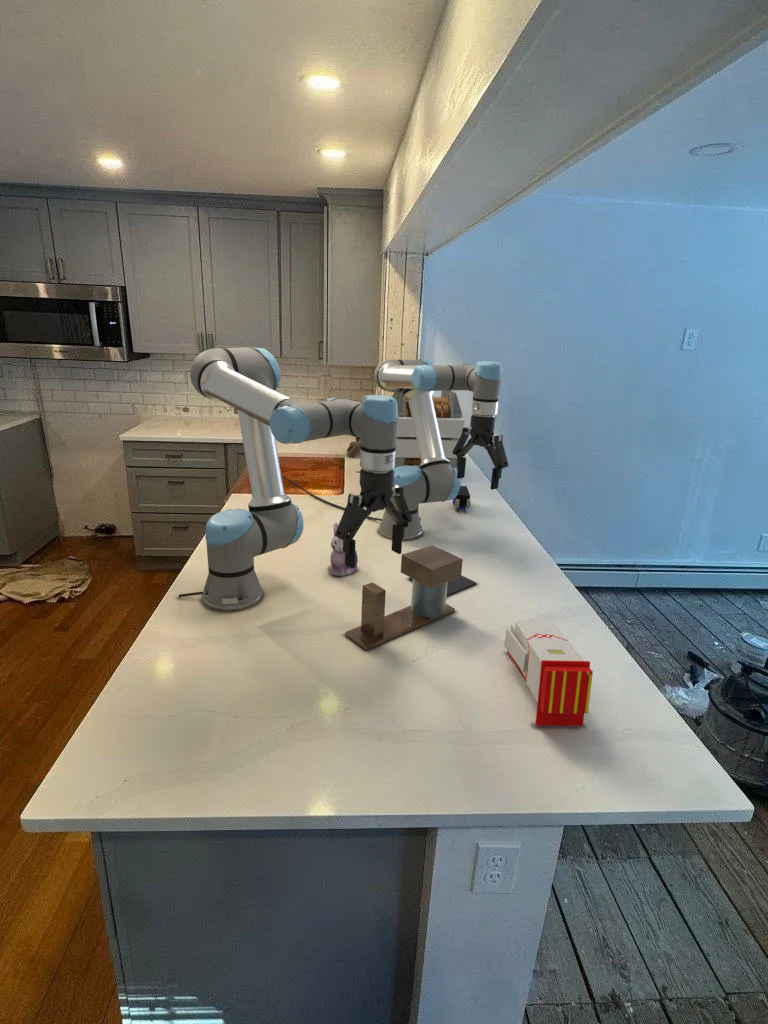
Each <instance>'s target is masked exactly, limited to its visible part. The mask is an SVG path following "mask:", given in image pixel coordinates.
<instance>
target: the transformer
mask: <svg viewBox="0 0 768 1024" xmlns="http://www.w3.org/2000/svg"><path fill="white" fill-rule="evenodd" d="M440 393H441V394H440V396H432V401H433V405H434V410H435V415H436V419H437V424H438V429H439V433H440V438H441V443H442V447H443V452H444V456H445V458H446V459H448V460H449V461H450V464H451V468H452V467H454V468H456V469H457V470H458V467H457V456H456V455H455V454H453V453H452V452H453V450H454V448H455V446H456V444H457V442H458V440H459V438H460V436H461V434H462V429H463V428H465V419H464V418H463V411H462V408H461V405H460V402H459V398H458V395H457V392H456V391H455V390H451V391H446V390H443V391H441V392H440ZM391 397H393V398H395V399H396V401H397V410H398V421H397V432H396V453H395V467H399V466H417V467H419V466H420V464H421V459H420V454H419V449H418V444H417V440H416V435H415V430H414V425H413V420H412V415H411V411H410V406H409V402H408V401H406V400H404V397H403V393H402V392H393V394H392V395H391ZM395 467H394V468H395Z"/></svg>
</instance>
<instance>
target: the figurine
mask: <svg viewBox="0 0 768 1024" xmlns="http://www.w3.org/2000/svg"><path fill="white" fill-rule="evenodd" d="M338 525H339V523H338V522H334V523H333V537H332V538H331V541H330V547H331V549H332V551H331V553H330V557H329V559H330V568H329V570H330V574H331V575H333V576H337V577H340V576H341V577H344V576H346V575H351V574H353V573H354V572H356V571H357V567H358V562H359V561H358V553H357V551H356V549H355V568H350V567H349V566H347V565H345V553H344V552H343V540H341V539H339V538H338V537H336V536H335V532H336V530H337V528H338Z"/></svg>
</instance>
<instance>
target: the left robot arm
mask: <svg viewBox="0 0 768 1024" xmlns="http://www.w3.org/2000/svg"><path fill="white" fill-rule="evenodd" d="M189 376H190V377H189V378H190V381H191V384H192V386H193V388H194V389H195V390H196V391H197V392H198V393H199V394H200V395H201V396H203V398H206V399H208V400H210V401H212V402H223V403H224V404H226V405H229V406H230V407H232V408H234V409H236V410H237V414H238V421H239V427H240V433H241V438H242V444H243V450H244V457H245V462H246V468H247V474H248V479H249V485H250V491H251V499H250V501H249V502H248V504H247V507H248V510H247V509H244V508H234V509H232V508H231V509H230V508H229V509H225V510H222V511H219V512H217V513H215V514H213V515H211V516H210V517H209V519H208V520H207V521H206V525H205V535H204V536H205V543H206V556H207V569H208V574H207V577H206V580H205V584H204V587H203V590H202V591H195V592H188V593H181V594H178V598H185V597H191V596H199V595H202V600H203V603H204V605H205V606H206V607H208V608H210V609H213V610H215V611H216V610H217V611H220V612H221V611H222V612H234V611H240V610H241V611H242V610H244V609H248V608H251V607H253V606H255V605H256V604H258V603H259V602H260V601H261V599H262V598H263V589H262V585H261V583H260V580H259V578H258V575H257V572H256V570H255V557H258V556H261V555H265V554H267V553H270V552H274V551H278V550H280V549H285V548H287V547H289V546H292V545H294V544H296V543H297V542H298V541H299V540H300V538H301V537H302V535H303V531H304V518H303V517H304V516H303V513H302V511H301V510H300V507H299V506H298V505H297V504H295V503H294V502H292V498H291V496H289V495H288V494H286V493H285V489H284V484H283V478H282V476H283V475H282V471H281V464H280V458H279V452H278V446H277V442H278V443H280V444H283V445H289V444H293V445H296V444H301V443H304V442H310V441H315V440H320V439H321V440H322V439H327V438H334V437H339V436H351V437H353V438H356V437H358V438H361V451H360V453H359V455H360V457H359V458H360V459H359V467H360V468H361V469H360V470H359V486H360V493H359V494H353V493H349V494H348V495H347V503H346V505H345V507H344V508H345V510H343V513H342V515H341V518H340V520H339V523H338V528H337V530H336V532H335V536H336V537H338V538H339V539H341V540H343V552H344V553H345V565H347V566H349V567H350V568H355V550H356V544H357V543H356V539H354V538H355V536H356V535H357V533H358V531H359V530H360V529H361V527H362V525H363V524H364V522H365V520H366V519H367V518H366V517H367V516H369V517H370V516H371V514H372V513H376V512H377V511H385V510H386V511H387V512H388V513H389V515H390V516H391V517H392V519H393V520H394V521H395V522H396V523H397V525H396V524H394V525H393V531H392V539H391V551H392V552H394V553H396V554H398V555H402V551H403V540H402V539H403V538H404V529H405V528H407V527H408V522H409V523H410V522H411V521H412V517H411V514H410V512H409V509H408V506H407V504H406V501H405V498H404V493H403V487H401V486H398V485H395V484H394V475H395V472H394V470H393V469H394V467H395V453H396V432H397V421H398V410H397V401H396V399H395V398H393V397H392V396H390V395H382V394H368V395H364V396H363V397H362V400H361V401H356V400H351V399H347V398H345V397H329V398H327V399H326V400H325V401H323V402H313V403H312V402H311V403H303V402H300V401H297V400H296V399H293V398H291V397H289V396H288V395H285V394H283V393H281V392H279V391H277V389H279V387H280V382H281V378H282V377H281V370H280V366H279V363H278V361H277V359H276V358H275V356H274V355H273V354H272V353H271V352H270V351H269V350H267V349H266V348H262V347H253V346H247V347H223V348H222V347H221V348H220V347H216V348H215V347H213V348H209V349H206V350H204V351H202V352H200V353H199V354H198V355H197V356H196V357H195V358H194V360H193V361H192V363H191V366H190V371H189ZM392 495H393V497H394V500H395V503H396V505H397V508H398V510H399V512H398V511H397V510H396V508H395V507H394V504H393V503H392V502H391V500H390V499H391V497H392ZM399 513H400V514H399Z"/></svg>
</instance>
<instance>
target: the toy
mask: <svg viewBox="0 0 768 1024" xmlns="http://www.w3.org/2000/svg"><path fill="white" fill-rule="evenodd" d="M503 645H504V647H505V649H506V650H507V655H508V656H509V658H510V659H511V662H513V664H514V666H515V667H516V669H517V670H518V672H519V673H520V675H521V676H522V679H523V680H524V681H525V683H526V686H527V687H528V689H529V690H530V693H531V694H532V696H533V698H534V700H535V701H536V703H537V704H536V714H535V722H534V723H535V726H537V727H541V726H542V727H583V726H584V719H585V715H586V714H587V715H588V714H589V706H590V705H589V704H590V699H591V691H592V683H593V682H592V681H593V674H594V673H593V672H594V671H593V670H592V669H591V668H590V667H591V661H590V660H584V659H583V658H582V657H581V655H580V654H579V653H578V651H577V650H576V649H575V648H574V647H573V645H572V644H571V643H570V642H569V640H568V639H567V638H566V636H564V633H562V632H561V630H560V629H559V628H558V627H557V625H556V624H555V623H553V622H515V624H511V625H510V628H506V630H505V638H504V644H503Z"/></svg>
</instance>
